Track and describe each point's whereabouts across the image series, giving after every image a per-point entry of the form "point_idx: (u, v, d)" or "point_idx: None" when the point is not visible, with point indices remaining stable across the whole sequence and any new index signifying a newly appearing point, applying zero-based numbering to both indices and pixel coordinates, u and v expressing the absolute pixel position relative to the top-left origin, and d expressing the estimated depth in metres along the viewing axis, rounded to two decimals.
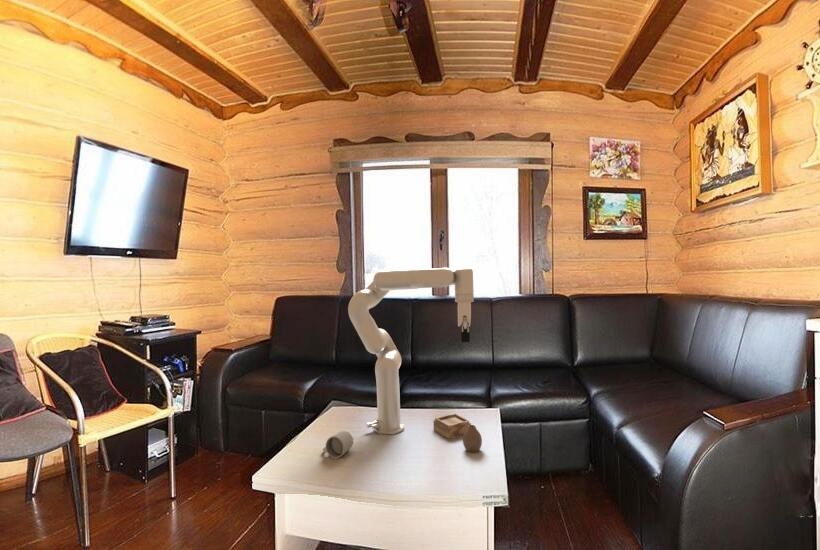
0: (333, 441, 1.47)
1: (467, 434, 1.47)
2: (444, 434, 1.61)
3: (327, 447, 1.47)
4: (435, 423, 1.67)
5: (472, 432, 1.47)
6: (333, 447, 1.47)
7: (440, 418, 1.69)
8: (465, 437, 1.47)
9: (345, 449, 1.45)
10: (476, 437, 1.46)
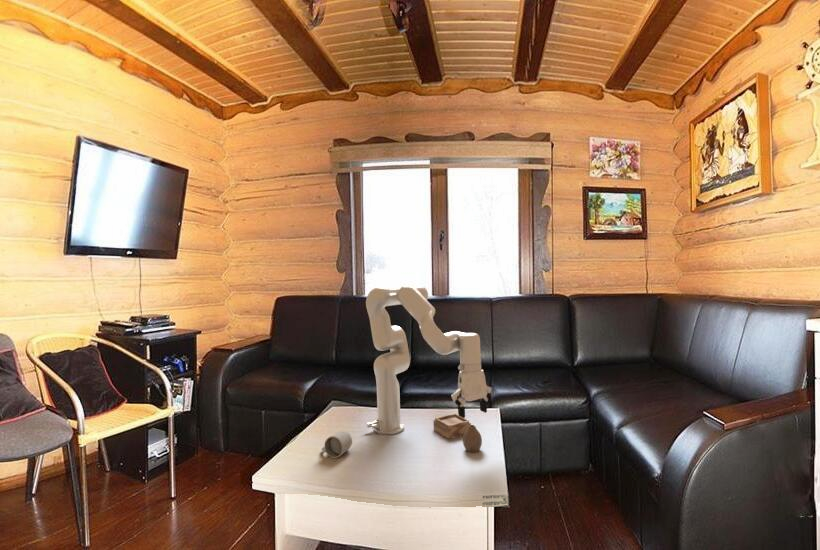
0: (332, 441, 1.47)
1: (467, 434, 1.47)
2: (444, 434, 1.61)
3: (326, 447, 1.47)
4: (435, 423, 1.67)
5: (472, 432, 1.47)
6: (332, 447, 1.47)
7: (440, 418, 1.69)
8: (465, 437, 1.47)
9: (344, 449, 1.45)
10: (476, 437, 1.46)
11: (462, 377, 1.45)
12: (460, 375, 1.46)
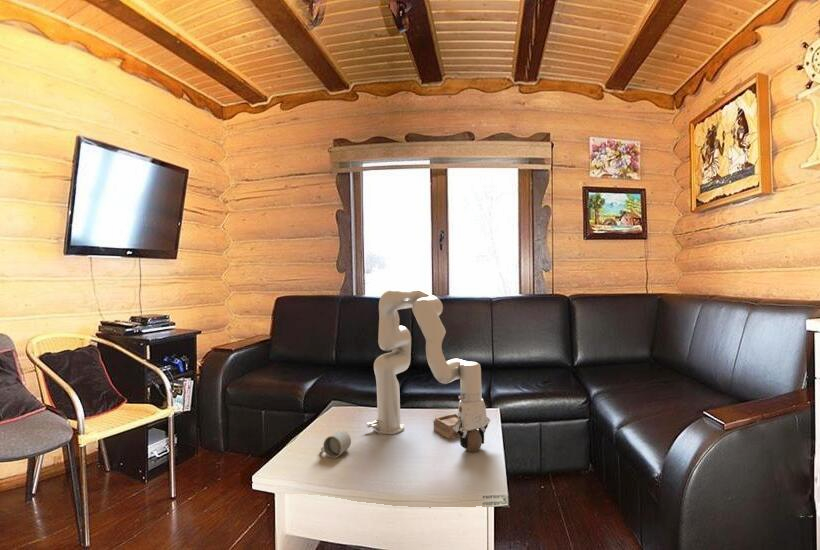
0: (331, 441, 1.47)
1: (467, 434, 1.47)
2: (444, 434, 1.61)
3: (325, 447, 1.47)
4: (435, 423, 1.67)
5: (472, 432, 1.47)
6: (331, 447, 1.47)
7: (440, 418, 1.69)
8: None
9: (343, 449, 1.45)
10: (476, 437, 1.46)
11: (462, 407, 1.45)
12: (460, 404, 1.47)
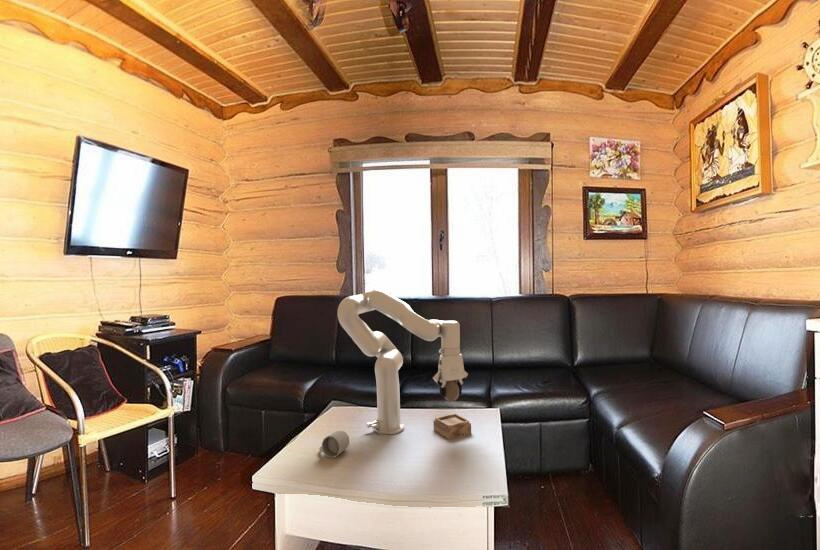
0: (329, 441, 1.47)
1: (446, 384, 1.64)
2: (444, 434, 1.61)
3: (323, 446, 1.47)
4: (435, 423, 1.67)
5: (450, 383, 1.63)
6: (329, 447, 1.48)
7: (440, 418, 1.69)
8: None
9: (341, 449, 1.45)
10: (454, 387, 1.63)
11: (442, 359, 1.62)
12: (440, 358, 1.63)
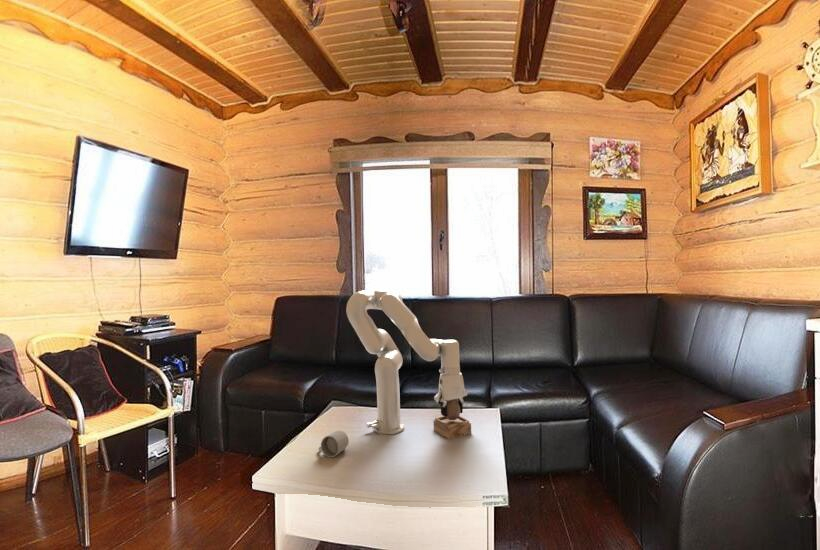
0: (328, 440, 1.48)
1: (447, 404, 1.64)
2: (444, 434, 1.61)
3: (322, 446, 1.48)
4: (435, 423, 1.67)
5: (451, 402, 1.64)
6: (328, 446, 1.48)
7: (440, 418, 1.69)
8: None
9: (340, 448, 1.46)
10: (455, 406, 1.63)
11: (442, 379, 1.63)
12: (441, 377, 1.64)
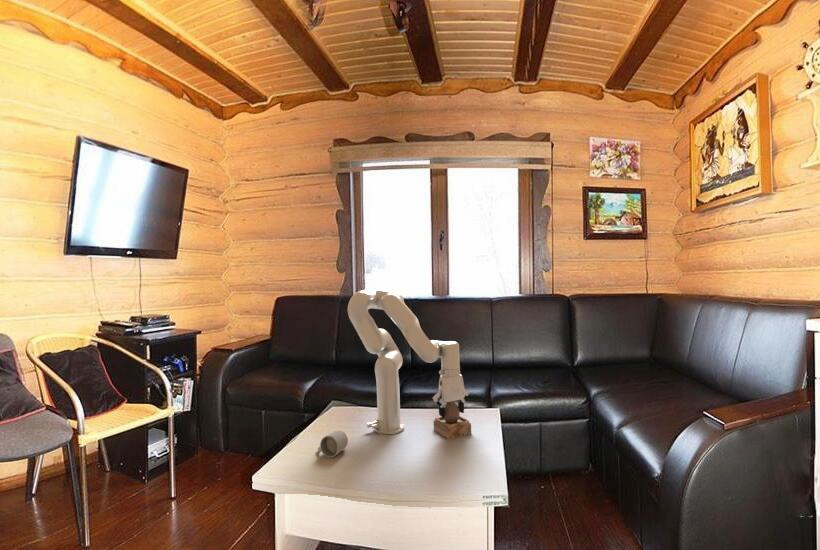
0: (327, 440, 1.48)
1: (446, 407, 1.64)
2: (444, 434, 1.61)
3: (322, 446, 1.48)
4: (435, 423, 1.67)
5: (450, 405, 1.64)
6: (328, 446, 1.48)
7: (440, 418, 1.69)
8: None
9: (339, 448, 1.46)
10: (454, 410, 1.63)
11: (442, 381, 1.63)
12: (441, 379, 1.64)
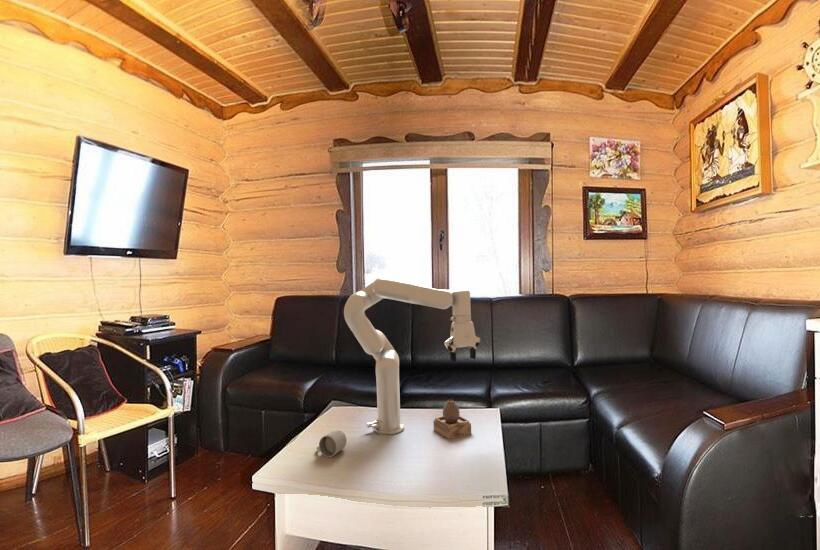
0: (326, 440, 1.48)
1: (446, 407, 1.64)
2: (444, 434, 1.61)
3: (320, 446, 1.48)
4: (435, 423, 1.67)
5: (450, 405, 1.64)
6: (326, 446, 1.48)
7: (440, 418, 1.69)
8: (444, 410, 1.64)
9: (338, 448, 1.46)
10: (454, 410, 1.63)
11: (454, 326, 1.67)
12: (452, 325, 1.68)
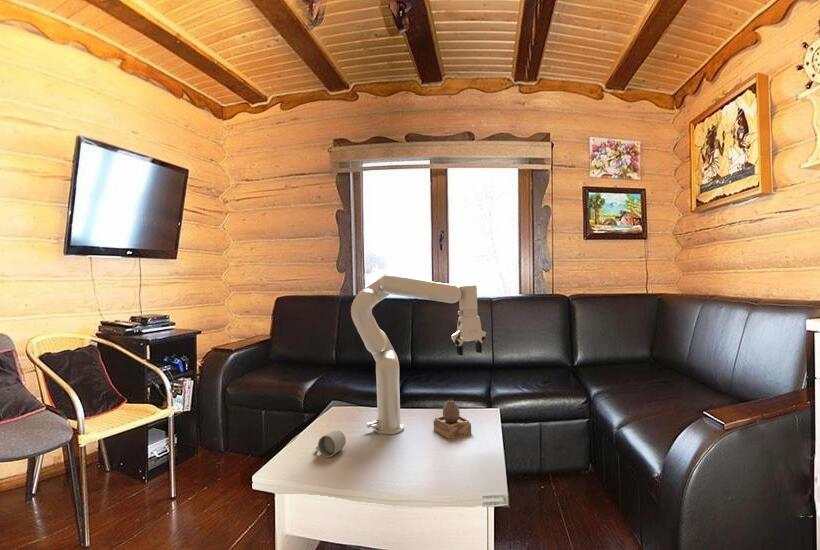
0: (325, 440, 1.48)
1: (446, 407, 1.64)
2: (444, 434, 1.61)
3: (319, 446, 1.48)
4: (435, 423, 1.67)
5: (450, 405, 1.64)
6: (325, 446, 1.48)
7: (440, 418, 1.69)
8: (444, 410, 1.64)
9: (337, 448, 1.46)
10: (454, 410, 1.63)
11: (461, 321, 1.69)
12: (459, 319, 1.71)
